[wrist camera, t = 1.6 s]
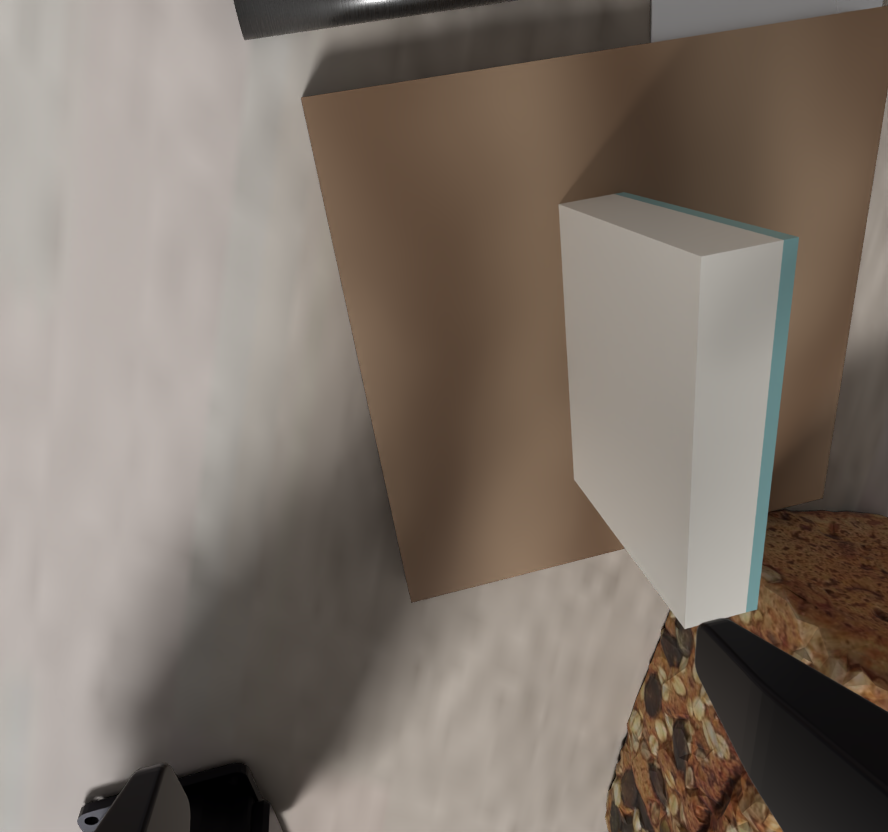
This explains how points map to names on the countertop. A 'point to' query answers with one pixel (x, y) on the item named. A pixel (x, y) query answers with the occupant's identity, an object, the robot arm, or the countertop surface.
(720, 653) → the robot arm
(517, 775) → the countertop surface
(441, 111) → the board
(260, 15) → the turner
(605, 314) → the tile
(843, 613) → the bread
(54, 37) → the countertop surface
